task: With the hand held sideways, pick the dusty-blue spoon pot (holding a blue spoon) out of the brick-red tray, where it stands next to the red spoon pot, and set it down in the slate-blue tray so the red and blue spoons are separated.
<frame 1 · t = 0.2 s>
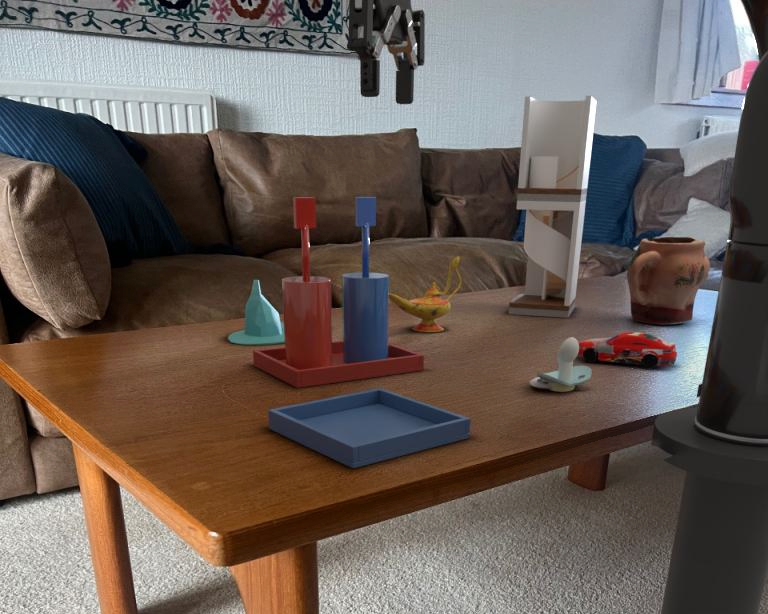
hand: (387, 100, 95), 32 cm above the table, tool pointing down, fingers open, 8 cm apart
red tray: (337, 367, 102), on the table
red spoon pot: (309, 367, 100), resting on red tray
magic lamp: (420, 331, 127), on the table
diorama: (279, 334, 123), on the table
blue spoon pot: (365, 360, 104), resting on red tray
race car: (624, 363, 107), on the table
pacifier: (556, 389, 94), on the table
blue tray: (368, 433, 77), on the table
display case: (542, 312, 145), on the table
decorative planter: (657, 323, 135), on the table
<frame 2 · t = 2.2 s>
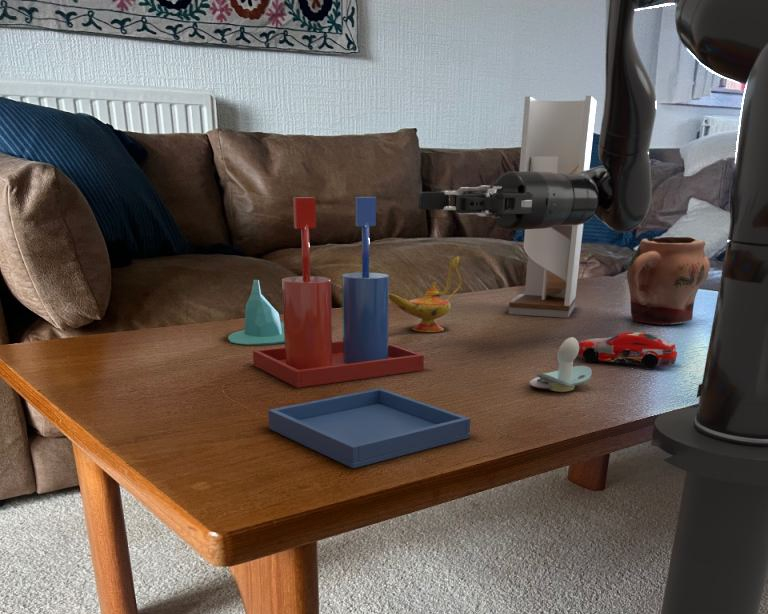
hand: (438, 202, 102), 20 cm above the table, tool horizontal, fingers open, 8 cm apart
nothing on the table moved.
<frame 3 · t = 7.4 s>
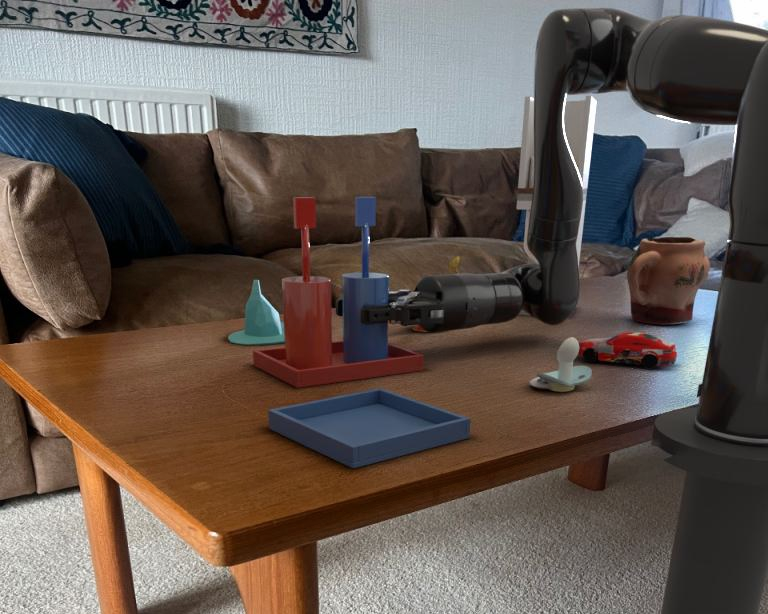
hand: (349, 311, 100), 7 cm above the table, tool horizontal, fingers closed on blue spoon pot, 6 cm apart
blue spoon pot: (365, 360, 104), point 1 cm above the table, touching gripper, red tray
everything else where it was.
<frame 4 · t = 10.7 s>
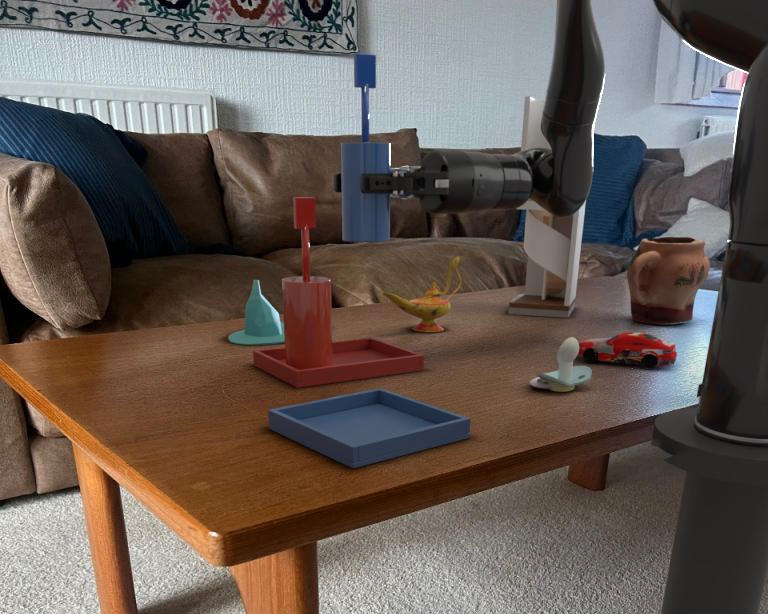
hand: (348, 183, 94), 22 cm above the table, tool horizontal, fingers closed on blue spoon pot, 6 cm apart
blue spoon pot: (366, 240, 98), point 16 cm above the table, touching gripper
everything else where it was.
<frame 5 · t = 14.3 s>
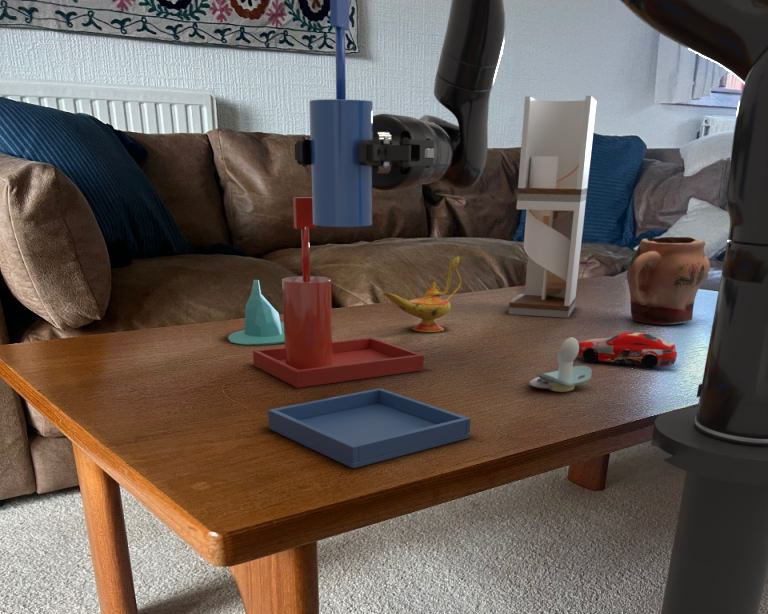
hand: (330, 152, 74), 25 cm above the table, tool horizontal, fingers closed on blue spoon pot, 6 cm apart
blue spoon pot: (342, 224, 78), point 19 cm above the table, touching gripper
everything else where it was.
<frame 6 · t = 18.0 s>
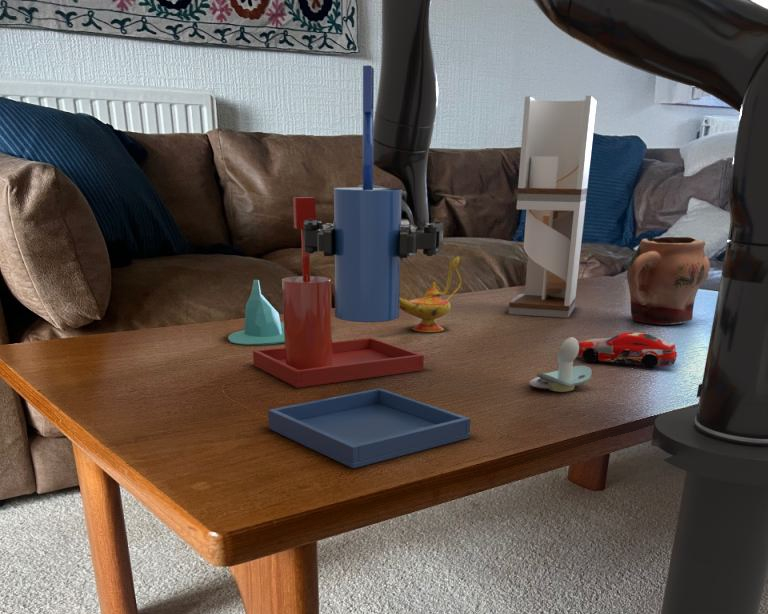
hand: (365, 244, 68), 18 cm above the table, tool horizontal, fingers closed on blue spoon pot, 6 cm apart
blue spoon pot: (367, 316, 73), point 11 cm above the table, touching gripper
everything else where it was.
when the fingers open (7 cm above the table, at t = 21.0 s): blue spoon pot stays where it is, resting on blue tray.
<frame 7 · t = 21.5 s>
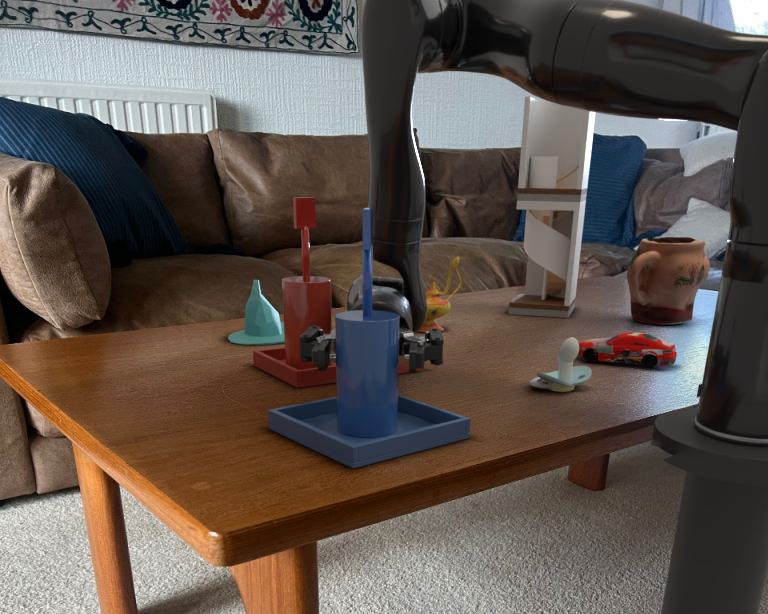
hand: (367, 361, 72), 8 cm above the table, tool horizontal, fingers open, 8 cm apart
blue spoon pot: (367, 428, 77), resting on blue tray
everything else where it was.
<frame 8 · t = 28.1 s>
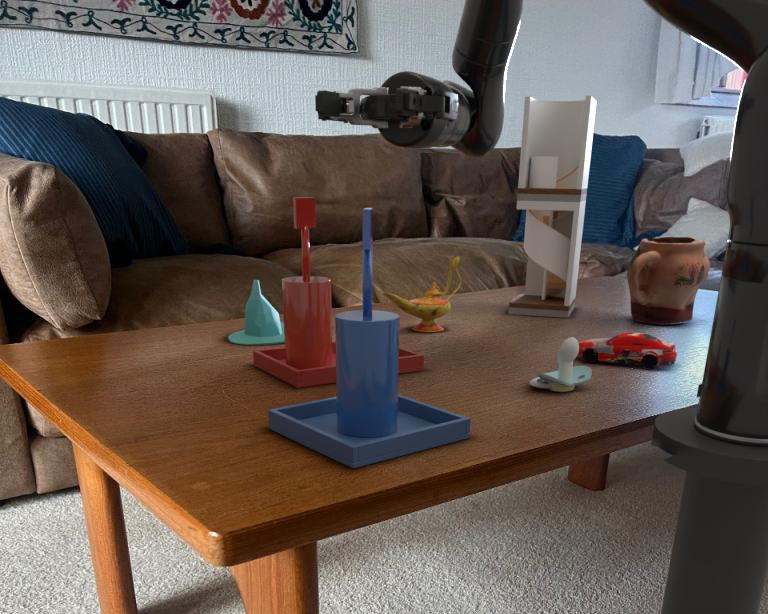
hand: (358, 101, 76), 30 cm above the table, tool horizontal, fingers open, 8 cm apart
nothing on the table moved.
at the end: blue spoon pot inside the target area in the blue tray (0.1 cm from its centre), point 0.5 cm above the blue tray's base; blue spoon pot tilted 0°; red spoon pot moved 0.0 cm from its start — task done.
